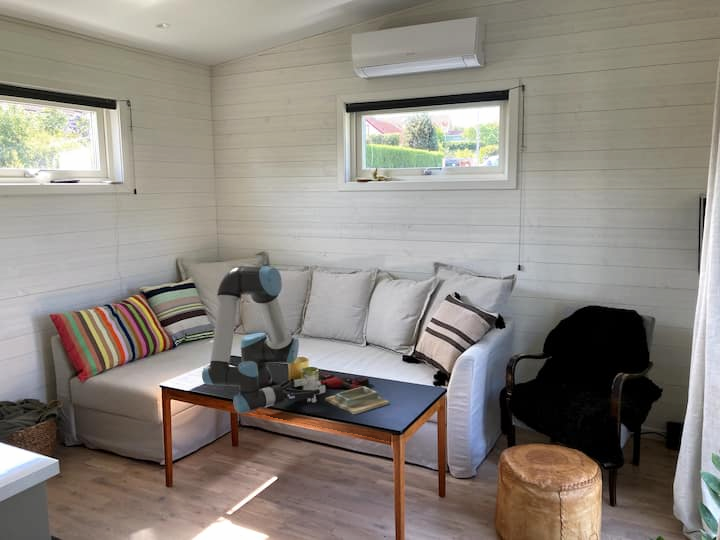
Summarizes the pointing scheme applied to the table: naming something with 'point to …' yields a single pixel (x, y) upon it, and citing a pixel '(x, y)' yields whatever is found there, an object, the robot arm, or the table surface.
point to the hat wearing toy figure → (310, 385)
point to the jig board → (357, 400)
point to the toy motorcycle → (342, 381)
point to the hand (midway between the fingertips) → (316, 384)
